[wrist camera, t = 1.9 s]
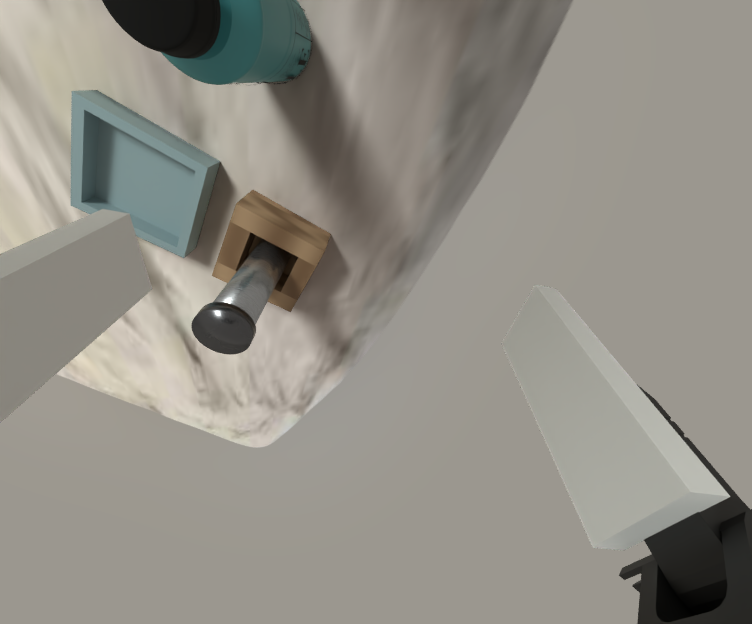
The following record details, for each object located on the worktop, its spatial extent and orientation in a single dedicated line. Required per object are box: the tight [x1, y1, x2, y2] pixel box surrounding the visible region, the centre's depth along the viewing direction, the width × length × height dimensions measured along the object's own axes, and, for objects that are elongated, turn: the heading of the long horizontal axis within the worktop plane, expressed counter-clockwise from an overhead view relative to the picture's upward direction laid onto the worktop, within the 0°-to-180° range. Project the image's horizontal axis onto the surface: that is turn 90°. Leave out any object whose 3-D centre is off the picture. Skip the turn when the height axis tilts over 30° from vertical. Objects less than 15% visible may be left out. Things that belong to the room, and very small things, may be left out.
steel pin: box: [192, 238, 292, 354], centre depth 32 cm, size 5×5×16 cm
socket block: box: [212, 190, 331, 312], centre depth 37 cm, size 10×10×5 cm
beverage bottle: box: [102, 0, 312, 86], centre depth 19 cm, size 6×7×20 cm
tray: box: [71, 90, 220, 258], centre depth 34 cm, size 12×12×3 cm
